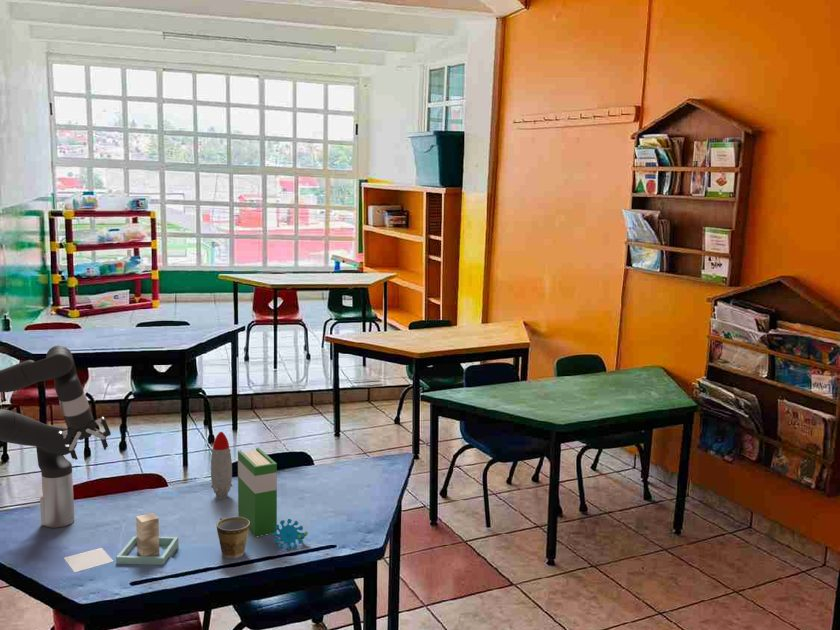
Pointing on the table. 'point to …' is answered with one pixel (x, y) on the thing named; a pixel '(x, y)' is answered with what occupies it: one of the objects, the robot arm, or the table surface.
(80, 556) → the white board
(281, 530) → the teal virus model
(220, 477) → the toy rocket
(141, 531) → the birch block
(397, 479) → the table surface
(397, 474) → the table surface
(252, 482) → the hardback book
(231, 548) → the ceramic cup
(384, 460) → the table surface
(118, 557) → the tray
